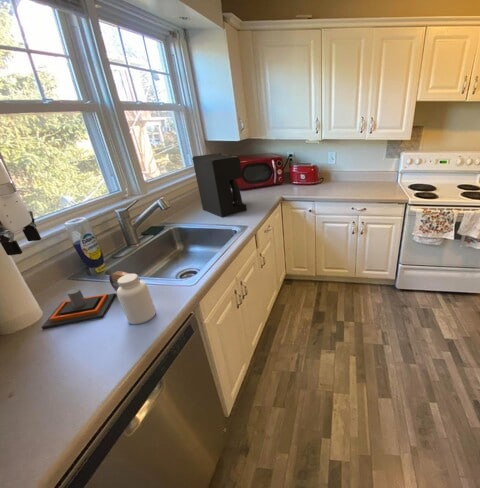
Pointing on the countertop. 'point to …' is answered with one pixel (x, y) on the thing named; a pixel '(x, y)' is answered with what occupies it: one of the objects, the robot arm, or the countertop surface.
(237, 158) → the coffee maker
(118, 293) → the pill bottle
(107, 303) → the base pad
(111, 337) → the countertop surface
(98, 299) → the stud pad
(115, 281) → the tin
